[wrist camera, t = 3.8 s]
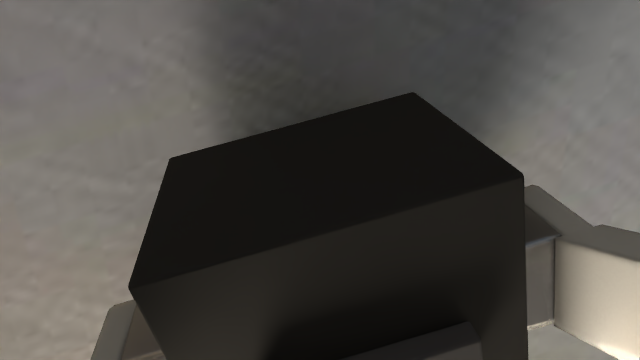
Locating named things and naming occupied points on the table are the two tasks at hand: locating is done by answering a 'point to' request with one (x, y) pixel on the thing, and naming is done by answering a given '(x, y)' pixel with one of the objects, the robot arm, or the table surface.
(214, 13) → the table surface
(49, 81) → the table surface
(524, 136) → the table surface
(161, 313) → the black block
